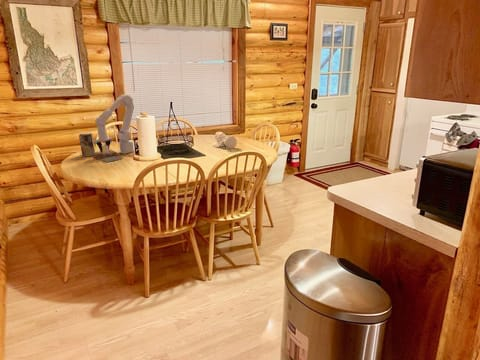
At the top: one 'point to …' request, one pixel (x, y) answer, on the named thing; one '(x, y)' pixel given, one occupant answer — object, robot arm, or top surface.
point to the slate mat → (111, 159)
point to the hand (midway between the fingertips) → (104, 151)
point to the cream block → (105, 149)
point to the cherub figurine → (225, 140)
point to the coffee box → (86, 144)
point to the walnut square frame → (106, 155)
